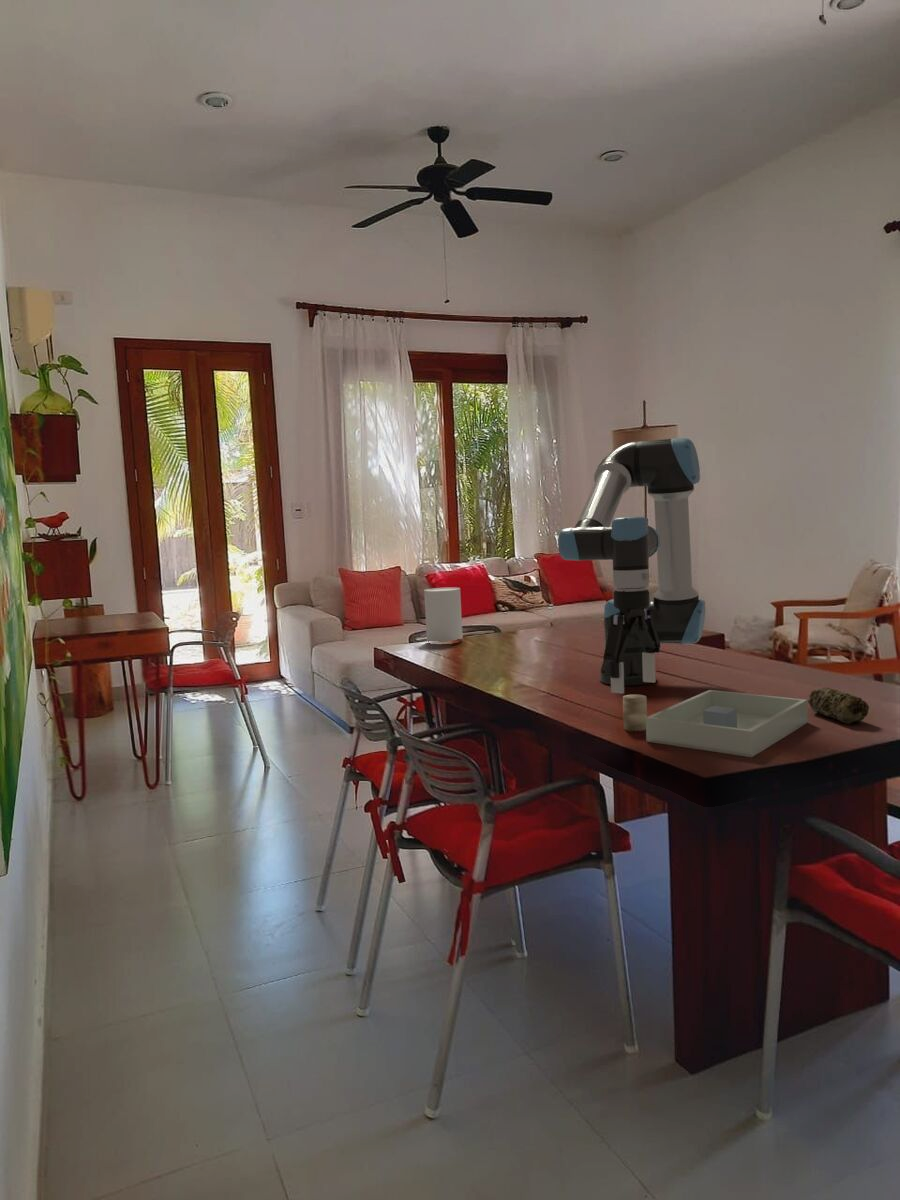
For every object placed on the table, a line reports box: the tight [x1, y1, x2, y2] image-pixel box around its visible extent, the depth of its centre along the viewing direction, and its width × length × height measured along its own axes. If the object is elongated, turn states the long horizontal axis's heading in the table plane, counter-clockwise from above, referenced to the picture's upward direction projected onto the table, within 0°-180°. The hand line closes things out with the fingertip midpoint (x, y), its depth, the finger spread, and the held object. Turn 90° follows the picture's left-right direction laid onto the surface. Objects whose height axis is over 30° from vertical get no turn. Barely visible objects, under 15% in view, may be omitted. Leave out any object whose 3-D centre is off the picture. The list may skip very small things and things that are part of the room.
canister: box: [423, 587, 463, 642], centre depth 325 cm, size 14×14×20 cm
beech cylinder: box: [622, 694, 648, 733], centre depth 188 cm, size 5×5×7 cm
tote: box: [645, 689, 809, 758], centre depth 181 cm, size 22×30×5 cm
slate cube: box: [703, 706, 737, 728], centre depth 178 cm, size 5×5×5 cm
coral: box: [807, 687, 870, 725], centre depth 187 cm, size 14×6×6 cm, turn 11°
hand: (633, 687), depth 187 cm, fingers open, 13 cm apart
